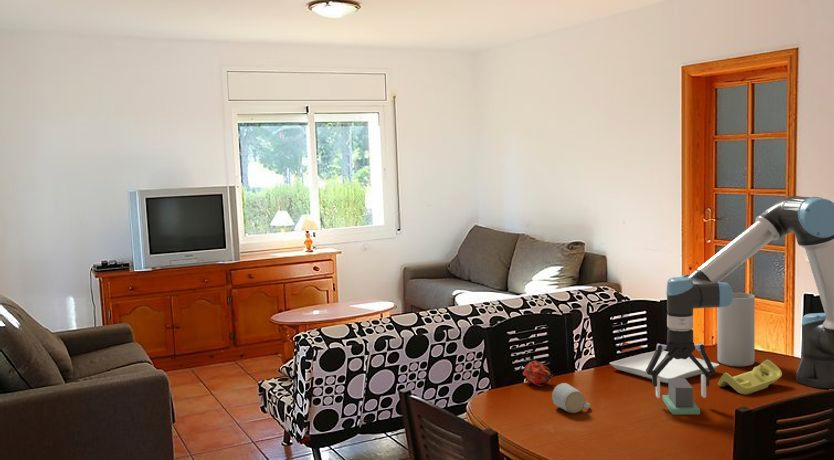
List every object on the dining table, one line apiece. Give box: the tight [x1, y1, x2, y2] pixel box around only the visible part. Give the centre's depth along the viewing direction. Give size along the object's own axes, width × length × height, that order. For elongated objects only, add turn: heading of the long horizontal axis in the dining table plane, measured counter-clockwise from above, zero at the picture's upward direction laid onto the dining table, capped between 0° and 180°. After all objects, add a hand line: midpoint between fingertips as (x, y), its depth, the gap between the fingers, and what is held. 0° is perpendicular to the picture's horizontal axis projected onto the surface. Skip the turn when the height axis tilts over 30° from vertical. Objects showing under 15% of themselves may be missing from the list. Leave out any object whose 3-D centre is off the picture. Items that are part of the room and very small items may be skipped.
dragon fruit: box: [521, 360, 554, 387], centre depth 263 cm, size 8×8×12 cm
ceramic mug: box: [551, 382, 591, 414], centre depth 235 cm, size 11×8×8 cm
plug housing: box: [667, 378, 694, 407], centre depth 236 cm, size 14×5×6 cm, turn 174°
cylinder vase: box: [716, 292, 756, 368], centre depth 279 cm, size 12×12×25 cm
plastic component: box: [717, 359, 783, 395], centre depth 251 cm, size 20×7×10 cm
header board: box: [662, 394, 701, 415], centre depth 234 cm, size 8×14×5 cm, turn 174°
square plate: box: [609, 350, 720, 384], centre depth 272 cm, size 27×27×4 cm
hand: (680, 396), depth 234 cm, fingers open, 13 cm apart
